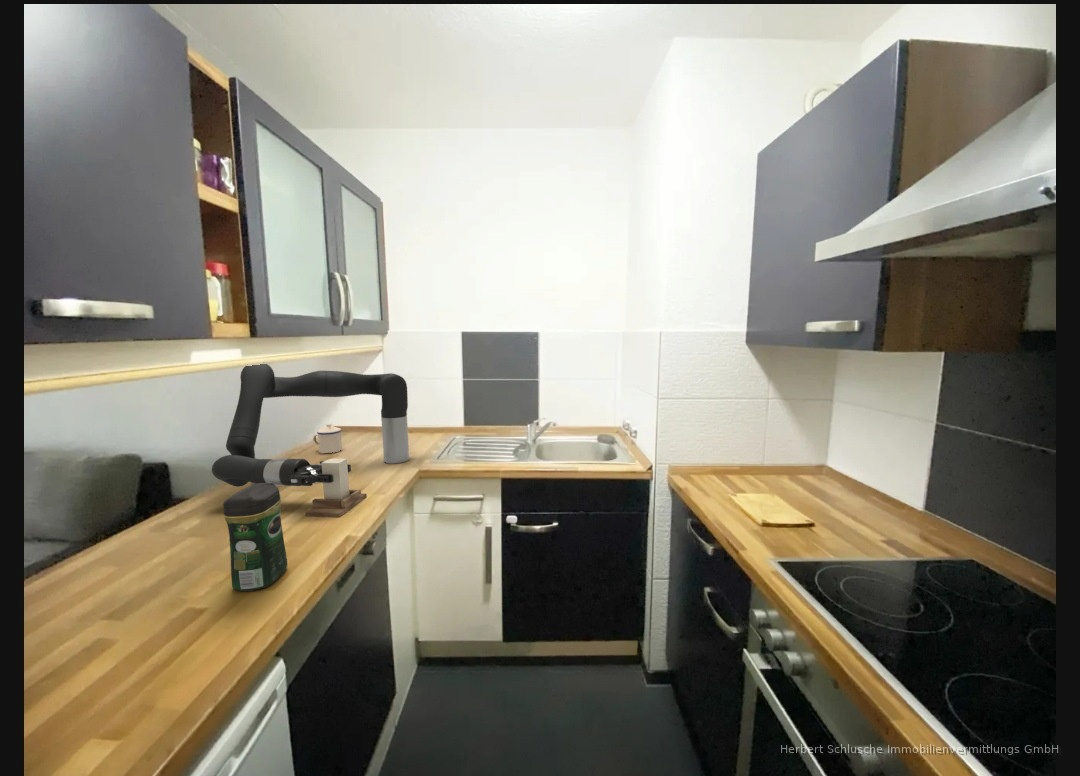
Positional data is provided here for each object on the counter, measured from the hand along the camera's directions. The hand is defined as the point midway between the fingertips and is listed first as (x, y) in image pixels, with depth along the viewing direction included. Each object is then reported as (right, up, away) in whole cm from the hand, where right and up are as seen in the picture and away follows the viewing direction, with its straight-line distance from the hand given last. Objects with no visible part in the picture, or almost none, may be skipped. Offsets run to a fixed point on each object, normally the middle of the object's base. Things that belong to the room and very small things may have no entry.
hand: (341, 473), depth 117 cm
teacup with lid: (-34, -3, +59) cm, 68 cm away
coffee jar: (0, -14, -34) cm, 37 cm away
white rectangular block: (-2, -8, +1) cm, 9 cm away
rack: (-2, -9, +1) cm, 10 cm away
